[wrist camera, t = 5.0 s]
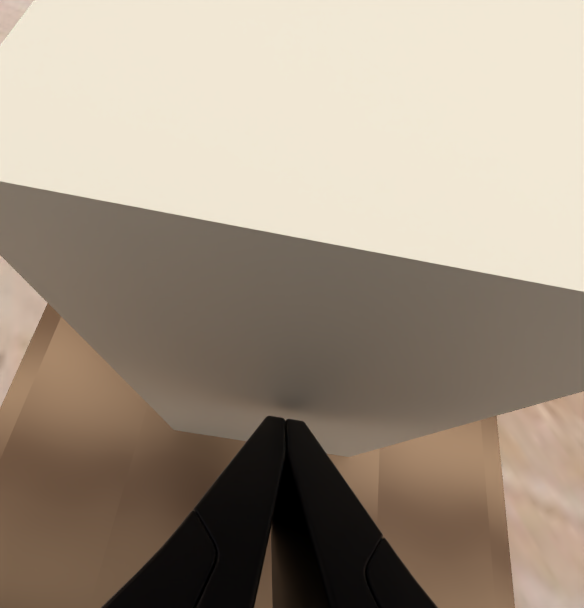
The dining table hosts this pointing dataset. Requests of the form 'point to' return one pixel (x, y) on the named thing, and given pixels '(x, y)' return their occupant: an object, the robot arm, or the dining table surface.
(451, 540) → the tray
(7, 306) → the dining table surface
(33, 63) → the cream block
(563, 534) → the dining table surface
